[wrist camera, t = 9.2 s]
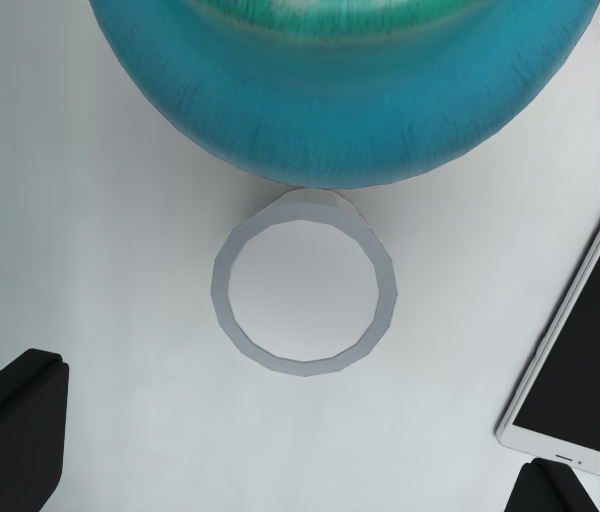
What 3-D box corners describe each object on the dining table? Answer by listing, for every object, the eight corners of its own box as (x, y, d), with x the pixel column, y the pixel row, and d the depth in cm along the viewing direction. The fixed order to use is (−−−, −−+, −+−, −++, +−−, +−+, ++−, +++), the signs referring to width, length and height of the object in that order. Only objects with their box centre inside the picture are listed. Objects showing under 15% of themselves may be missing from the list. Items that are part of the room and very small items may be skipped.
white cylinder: (348, 326, 26) (352, 403, 19) (224, 278, 26) (186, 340, 19) (404, 205, 24) (430, 245, 17) (270, 152, 24) (245, 171, 17)
